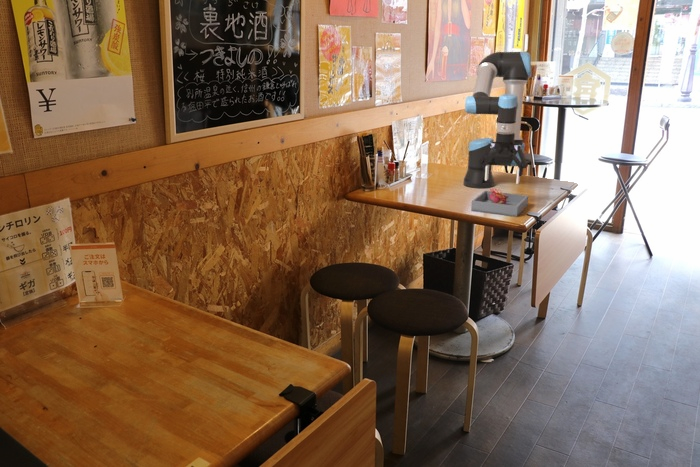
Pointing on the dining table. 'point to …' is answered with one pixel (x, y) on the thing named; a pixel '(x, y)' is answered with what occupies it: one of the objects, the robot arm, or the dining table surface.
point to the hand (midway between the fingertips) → (501, 181)
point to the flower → (497, 196)
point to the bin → (509, 209)
